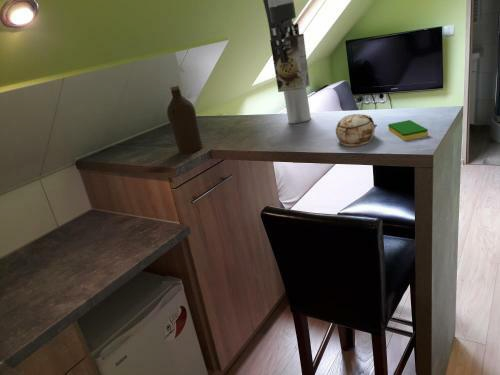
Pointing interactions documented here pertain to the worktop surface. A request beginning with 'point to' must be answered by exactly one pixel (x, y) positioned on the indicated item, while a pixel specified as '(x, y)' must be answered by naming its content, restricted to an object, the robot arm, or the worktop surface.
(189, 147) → the olive oil
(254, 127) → the worktop surface
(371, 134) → the trinket box
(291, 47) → the coffee box
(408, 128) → the dish sponge
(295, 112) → the robot arm
